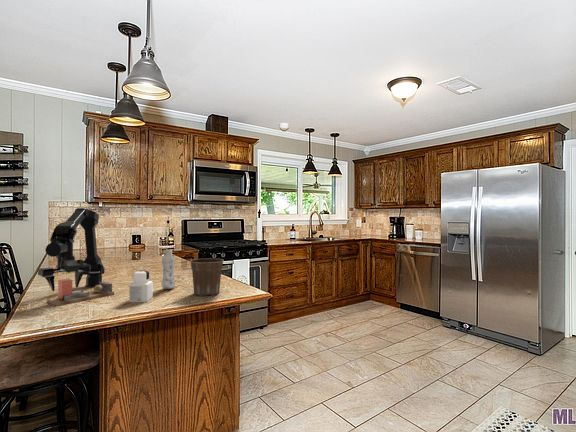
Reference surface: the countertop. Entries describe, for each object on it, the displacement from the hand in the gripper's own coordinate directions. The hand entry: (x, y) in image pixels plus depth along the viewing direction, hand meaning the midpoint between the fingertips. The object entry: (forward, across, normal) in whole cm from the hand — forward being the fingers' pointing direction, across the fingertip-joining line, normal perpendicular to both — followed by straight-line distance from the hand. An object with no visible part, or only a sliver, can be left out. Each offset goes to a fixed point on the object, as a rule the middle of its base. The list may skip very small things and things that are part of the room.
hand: (65, 289), depth 148 cm
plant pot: (+6, +47, -38) cm, 61 cm away
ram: (+4, +2, 0) cm, 4 cm away
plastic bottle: (+6, +41, -16) cm, 44 cm away
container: (+6, +21, -24) cm, 32 cm away
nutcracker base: (+5, +7, 0) cm, 9 cm away
